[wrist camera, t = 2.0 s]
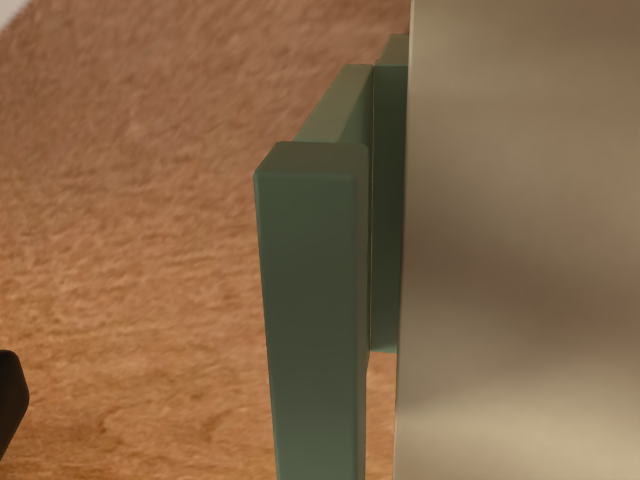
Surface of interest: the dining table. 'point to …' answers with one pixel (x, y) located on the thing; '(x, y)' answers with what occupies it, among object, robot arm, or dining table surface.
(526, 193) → the side table
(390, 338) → the chair
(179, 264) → the dining table surface
